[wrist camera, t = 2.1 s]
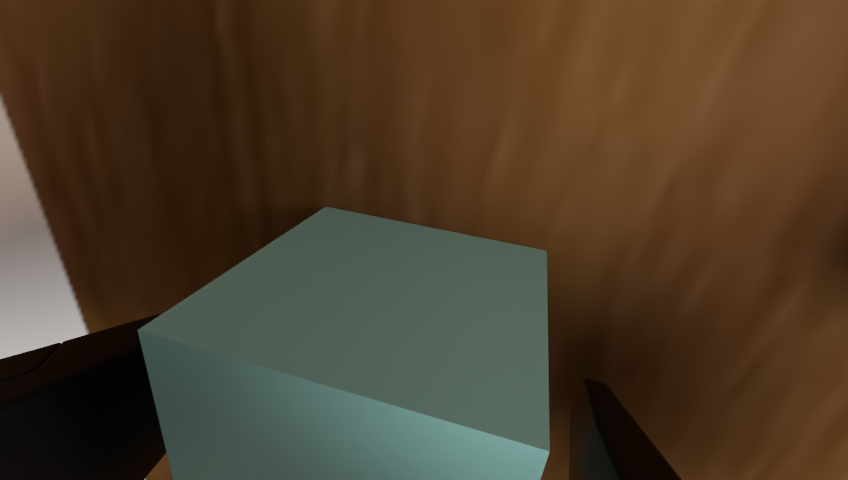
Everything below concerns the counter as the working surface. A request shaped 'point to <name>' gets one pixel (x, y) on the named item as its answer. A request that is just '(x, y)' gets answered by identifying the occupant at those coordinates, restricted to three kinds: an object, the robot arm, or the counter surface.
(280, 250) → the teal block
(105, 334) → the robot arm
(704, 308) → the counter surface
